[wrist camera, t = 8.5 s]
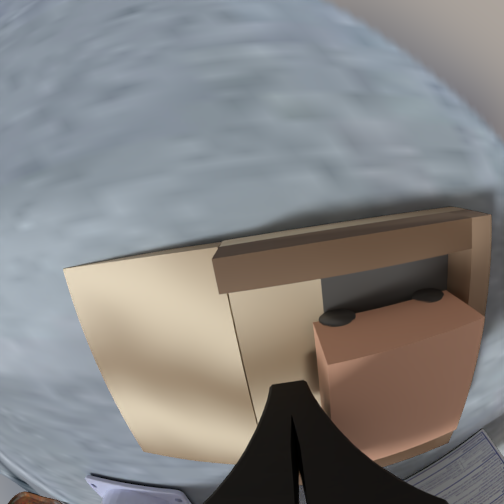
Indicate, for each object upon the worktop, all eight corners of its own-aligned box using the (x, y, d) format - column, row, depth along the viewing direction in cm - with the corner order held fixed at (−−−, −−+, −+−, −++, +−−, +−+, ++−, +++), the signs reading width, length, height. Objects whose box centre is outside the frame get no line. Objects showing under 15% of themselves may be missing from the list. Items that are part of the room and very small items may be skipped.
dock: (425, 404, 13) (448, 442, 10) (147, 442, 14) (131, 483, 11) (441, 204, 10) (491, 214, 7) (72, 263, 11) (26, 288, 8)
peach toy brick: (427, 386, 10) (456, 429, 8) (320, 416, 11) (332, 470, 8) (437, 284, 9) (485, 316, 6) (309, 314, 10) (327, 365, 7)
